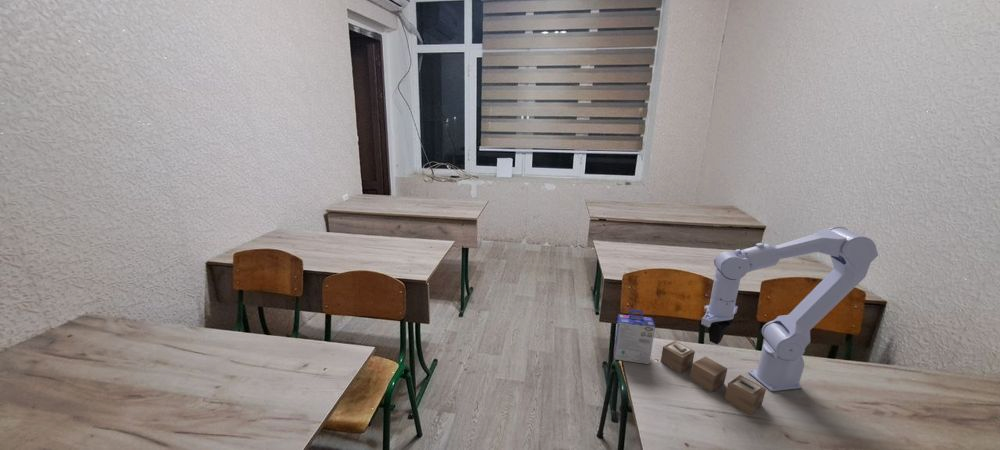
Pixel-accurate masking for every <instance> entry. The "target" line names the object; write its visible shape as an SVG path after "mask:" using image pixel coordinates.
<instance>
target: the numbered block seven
mask: <svg viewBox="0 0 1000 450" xmlns="http://www.w3.org/2000/svg"><path fill="white" fill-rule="evenodd" d="M695 351H696V350H694V349H692V348H690V347H688V346H687V345H684V344H683V343H680V342H679V341H677V340H674V341H672V342H670V343H668V344H665V345H664V346H662V351H661V358H660V363H662V364H664V365H666V366H667V367H669V368H671V369H673V370H674V371H676V372H678V373H679V374H681V373H682V372H684V371H686V370H688V369H689V368H692V364H693V363H694V357H695V354H696V352H695Z"/></svg>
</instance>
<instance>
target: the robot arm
mask: <svg viewBox="0 0 1000 450" xmlns="http://www.w3.org/2000/svg"><path fill="white" fill-rule="evenodd" d="M813 253H814V254H815V253H821V254H825V255H827V256H830V259H831V262H832V266H833V269H832V270H831V271H830V272H829V273H828V274H827V275H826V276H825V277H824V278H823V279H822V280H821V281H820V282H819V283H818V284H817V285H816V286H815V287H814V288H813V289H812V290H811V291H810V292H809V293H808V294H807V295H806V296H805V298H803V299H802V300H801V301H800V302H799V303H798V305H796V306H795V307H794V308H793V309H792V311H791V312H789V313H788V314H784V315H778V316H777V317H776V318H775V319H773V320H770V321H767V323H765V324H763V326H762V328H761V334H762V337H763V338H764V341H763V345H762V349H761V354H760V357H759V361H758V365H757V369H750V370H748V371H747V372H748V373H749V375H751V376H752V377H753V378H754V379H755V380H757V381H758V382H759V383H761V384H762V385H763V386H764V388H765V387H766V389H768V390H769V391H771V392H778V391H787V390H796V389H802V388H803V386H802V385H801V384H800V381H801V379H802V375H803V372H804V368H805V361H804V359H803V355H804V354H805V351H806V348H807V347H808V345H809V344H810V343H811V331H812V329H813V328H814V327H815V326H816V325H818V323H820V321H822V320H823V319H824V318H825V317H826V316H827V315H828V314H829V313H830V312H831V311H832V310H833V309H834V308H835V307H836V306H837V305H838V304H839V303H840V302H841V301H842V300H843V299H844V298H845V297H846V296H848V295H849V293H851V291H853V289H854V288H856V287H857V286H858V285H859V283H861V282H862V281H863V280H864V279H865V278H866V277H867V274H868V272H869V269H870V266H871V264H872V262H873V261H874V260H876V258H877V257H878V256H879V252H878V251H877V245H876V243H875V242H874V241H873V239H871V238H869V237H867V236H865V235H860V234H858V233H856V232H854V231H851V230H849V229H848V228H846V227H845V226H832V227H830V228H825V229H824V228H823V229H820V230H818V231H816V232H815V233H812V234H810V235H806V236H803V237H800V238H796V239H793V240H790V241H787V242H784V243H783V242H782V243H781V244H776V245H772V244H769V243H762V242H758V243H755V246H752V247H747V248H742V249H740V248H739V249H735V251H730V250H726V251H722V252H719V254H718V255H716V258H714V259H713V265H714V266H715V268H716V270H715V275H714V279H713V284H712V289H711V294H710V300H709V304H707V305H705V306H703V307H704V308H703V309H704V310H705V311H706V312H705V314H704V316H702V317H701V323H700V324H701V325H702V326H705V327H707V331H708V338H709V342H711V343H712V344H714V345H718V344H720V343H721V342H722V340H723V337H724V335H725V333H726V332H727V331H728V329H729V328H730V327H731V326H732V325H733V324H734V316H735V314H736V313H737V312H738V307H739V306H737V305H736V302H737V298H738V293H739V289H740V288H739V287H740V284H741V279H742V278H744V276H746V275H747V273H750V272H754V271H757V270H762V269H766V268H770V267H775V266H777V265H778V263H779V261H780V260H784V259H788V258H794V257H799V256H805V255H809V254H813Z"/></svg>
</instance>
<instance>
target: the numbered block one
mask: <svg viewBox="0 0 1000 450" xmlns="http://www.w3.org/2000/svg"><path fill="white" fill-rule="evenodd" d="M726 386H727V387H726V390H725V395H724V399H723V400H724V401H726V402H727V403H729V404H731V405H733V407H734V406H735V407H736V408H737V409H739V410H741V411H742V412H744V413H746V414H747V415H749V416H751V415H752V414H753V413H754V412H756V411H757V410H758V409H759V408H760V407H762V406H763V402H764V397H765V395H766V390H767V388H765V386H764V387H763V386H761V385H760V384H758V383H756V382H754V381H753V380H751V379H749V378H747V377H744V376H743V375H741V374H739V375H738V376H736V377H735V378H734V379H732V380H731V381H729V382H728V383H727V385H726Z"/></svg>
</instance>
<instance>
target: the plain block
mask: <svg viewBox="0 0 1000 450" xmlns="http://www.w3.org/2000/svg"><path fill="white" fill-rule="evenodd" d="M727 372H728V367H725V366H724V365H722V364H720V363H719V362H717V361H714V360H713V359H711V358H709V357H708V356H704V357H702V358H700V359H698V360H696V361H693V364H692V366H691V370H690V375H689V379H690V381H693V382H694V383H696V384H697V385H699V386H701V387H703V388H704V389H705V390H707V391H709V392H711V393H712V392H714V391H716V390H717V389H718V388H721V387H722V386H723V385H724V384H725V381H726V377H727Z"/></svg>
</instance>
